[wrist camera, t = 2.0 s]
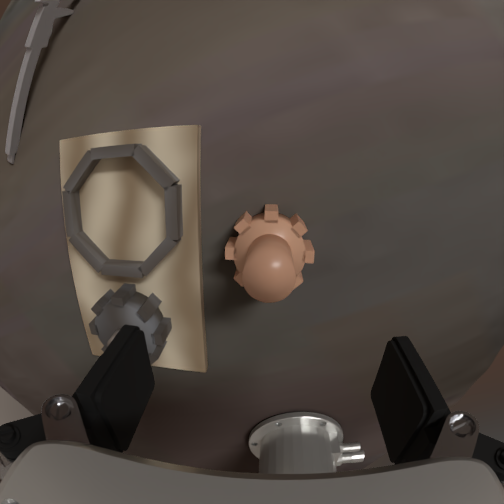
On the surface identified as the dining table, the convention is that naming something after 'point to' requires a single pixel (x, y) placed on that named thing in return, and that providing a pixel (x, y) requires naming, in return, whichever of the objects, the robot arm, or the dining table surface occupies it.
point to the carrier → (138, 239)
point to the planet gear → (269, 253)
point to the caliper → (31, 68)
